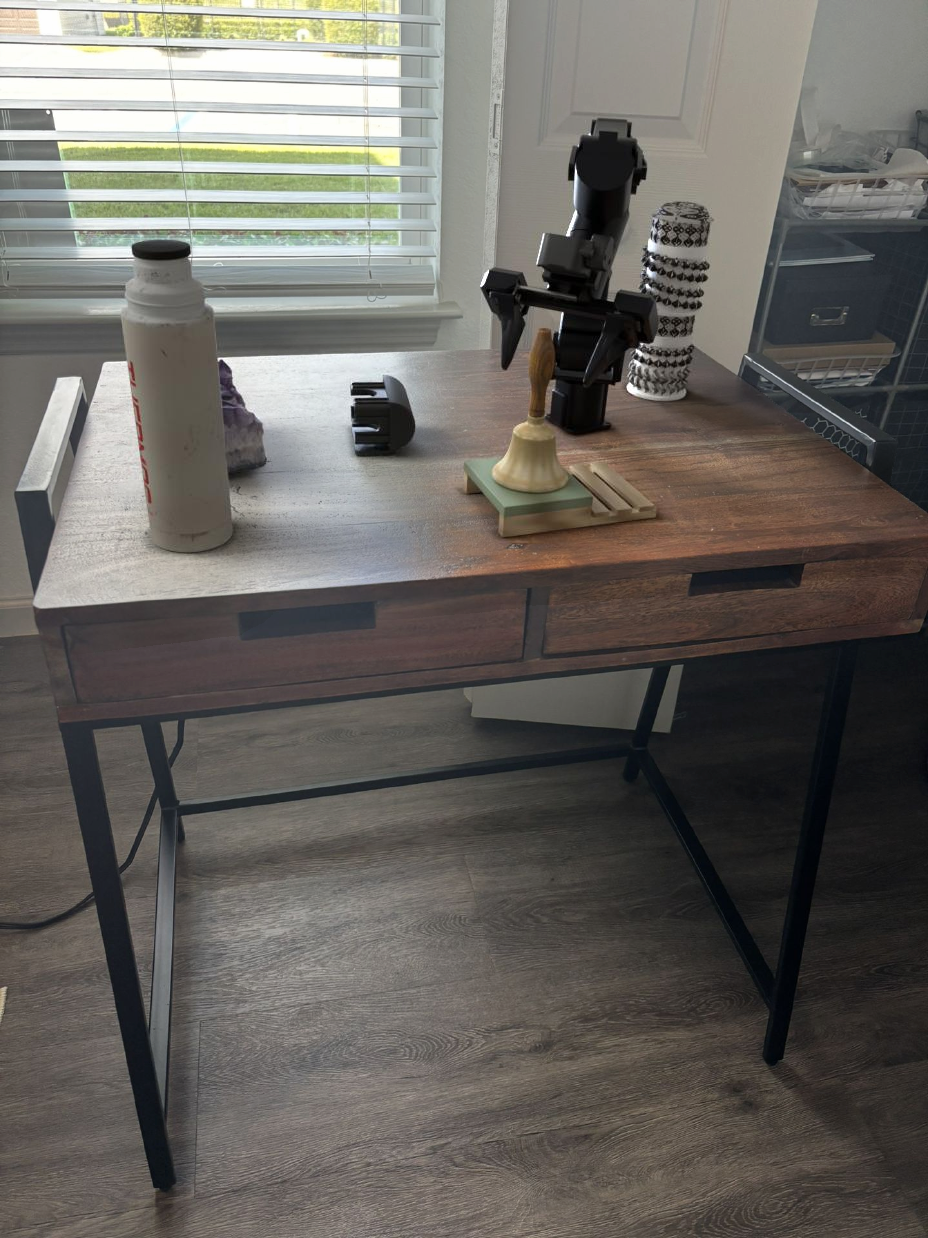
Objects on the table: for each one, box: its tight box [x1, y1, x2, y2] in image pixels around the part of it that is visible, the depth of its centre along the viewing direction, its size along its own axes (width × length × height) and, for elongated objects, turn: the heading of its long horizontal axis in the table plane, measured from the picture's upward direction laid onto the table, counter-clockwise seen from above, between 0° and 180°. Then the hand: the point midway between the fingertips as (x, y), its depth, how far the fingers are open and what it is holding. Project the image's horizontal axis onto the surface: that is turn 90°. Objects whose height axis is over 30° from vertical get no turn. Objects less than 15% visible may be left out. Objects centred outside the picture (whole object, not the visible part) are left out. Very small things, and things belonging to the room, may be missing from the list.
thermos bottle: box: [120, 238, 234, 553], centre depth 93 cm, size 8×8×28 cm
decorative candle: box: [626, 201, 715, 402], centre depth 136 cm, size 9×9×25 cm
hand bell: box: [492, 327, 569, 493], centre depth 103 cm, size 8×8×16 cm
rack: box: [462, 456, 658, 538], centre depth 109 cm, size 18×12×4 cm, turn 110°
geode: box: [218, 358, 268, 475], centre depth 115 cm, size 20×12×10 cm, turn 19°
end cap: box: [349, 374, 417, 457], centre depth 121 cm, size 10×7×7 cm
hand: (543, 376), depth 105 cm, fingers open, 9 cm apart
